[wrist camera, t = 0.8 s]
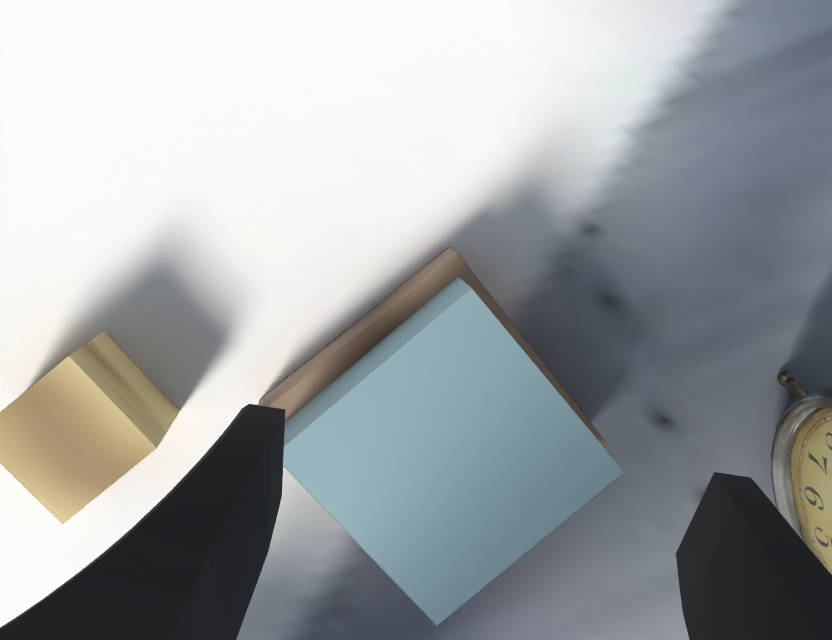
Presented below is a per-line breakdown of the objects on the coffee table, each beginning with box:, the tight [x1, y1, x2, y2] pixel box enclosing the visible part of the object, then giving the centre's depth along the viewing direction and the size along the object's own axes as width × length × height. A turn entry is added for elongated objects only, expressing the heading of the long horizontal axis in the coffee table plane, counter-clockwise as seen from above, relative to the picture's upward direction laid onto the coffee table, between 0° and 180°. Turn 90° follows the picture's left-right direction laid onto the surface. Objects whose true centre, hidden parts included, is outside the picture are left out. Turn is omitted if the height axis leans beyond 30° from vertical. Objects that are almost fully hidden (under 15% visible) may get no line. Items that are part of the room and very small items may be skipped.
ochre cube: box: [0, 331, 179, 524], centre depth 30 cm, size 4×4×4 cm
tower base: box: [258, 247, 608, 447], centre depth 32 cm, size 10×10×3 cm
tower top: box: [283, 277, 624, 625], centre depth 30 cm, size 9×9×3 cm
